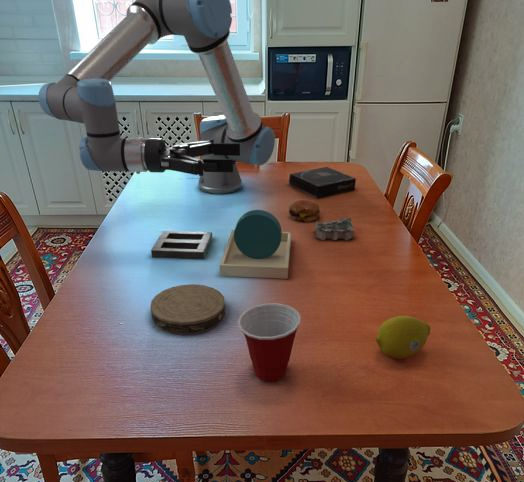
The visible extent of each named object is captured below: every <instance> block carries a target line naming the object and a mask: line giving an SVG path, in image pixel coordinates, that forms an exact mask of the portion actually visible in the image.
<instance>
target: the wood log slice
mask: <svg viewBox="0 0 524 482" xmlns="http://www.w3.org/2000/svg"><path fill="white" fill-rule="evenodd" d="M150 302H151V303H150V314H151V320H152V322H153V324H154V325H155V327H157V328H158V329H159V330H160V331H163V332H165V333H168V334H171V335H180V336H187V335H189V336H190V335H196V334H197V335H198V334H200V333H205V332H208V331H210V330H212V329H214V328H216V327H218V326H219V325H221V323H222V322H223V321H224V319H225V318H226V316H227V315H226V300H225V296H224V295H223V293H222V292H221V291H220V290H217V289H216V288H214V287H211V286H209V285H203V284H194V283H193V284H180V285H175V286H172V287H169V288H166V289H164V290H162V291H160V292H159V293H157V294H156V295H155V296H153V298H152V300H151V301H150Z"/></svg>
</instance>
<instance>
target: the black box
mask: <svg viewBox="0 0 524 482" xmlns="http://www.w3.org/2000/svg"><path fill="white" fill-rule="evenodd" d="M288 183H289V184H288V185H289V186H290V187H293V188H295V189H296V190H299V191H301V192H303V193H304V194H307V195H309V196H311V197H313V198H315V199H321V198H326V197H330V196H331V197H332V196H335V195H339V194H343V193H347V192H353V191H355V189H356V183H357V178H355V177H353V176H350V175H348V174H345V173H343V172H341V171H338V170H335V169H333V168H330V167H329V166H323V167H320V168H314V169H309V170H308V169H307V170H304V171H299V172H295V173H294V172H293V173H290V174H289V178H288Z"/></svg>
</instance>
